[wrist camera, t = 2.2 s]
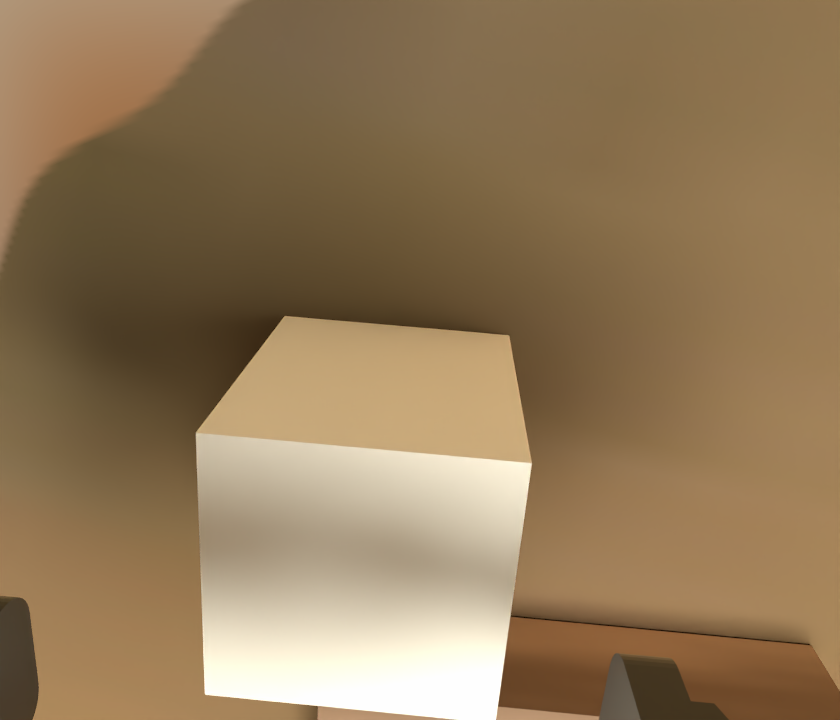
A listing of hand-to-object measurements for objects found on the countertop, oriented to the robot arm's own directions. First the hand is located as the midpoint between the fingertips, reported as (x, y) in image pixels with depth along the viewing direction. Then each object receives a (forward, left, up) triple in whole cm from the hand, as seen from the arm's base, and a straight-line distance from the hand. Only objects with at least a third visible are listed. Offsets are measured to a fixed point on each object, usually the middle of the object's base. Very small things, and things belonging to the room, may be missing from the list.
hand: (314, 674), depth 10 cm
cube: (0, 0, -8) cm, 8 cm away
